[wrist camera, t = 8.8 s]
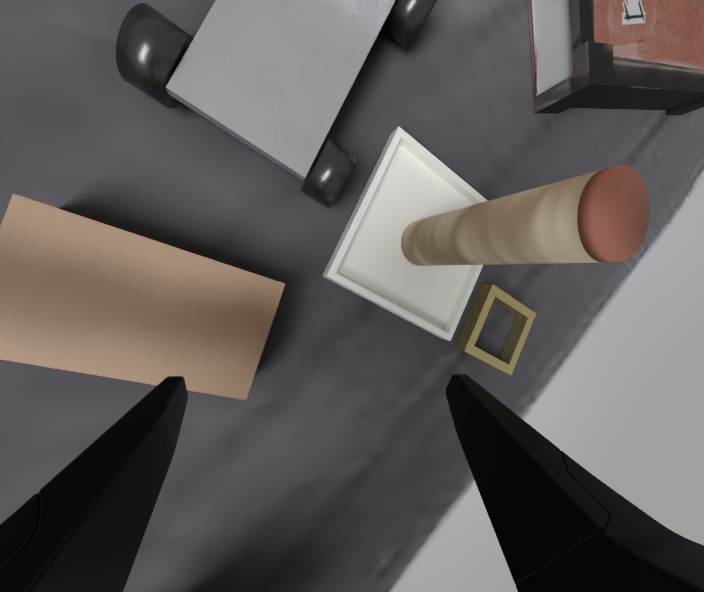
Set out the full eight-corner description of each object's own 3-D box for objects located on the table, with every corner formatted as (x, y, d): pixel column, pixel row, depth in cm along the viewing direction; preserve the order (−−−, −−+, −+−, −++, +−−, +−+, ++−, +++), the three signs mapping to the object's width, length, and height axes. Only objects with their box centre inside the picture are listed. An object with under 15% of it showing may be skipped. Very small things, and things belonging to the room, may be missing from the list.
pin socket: (500, 371, 28) (511, 375, 27) (454, 347, 26) (464, 351, 24) (524, 311, 28) (536, 313, 27) (482, 283, 26) (492, 283, 25)
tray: (441, 338, 25) (450, 341, 24) (321, 275, 21) (326, 276, 19) (493, 217, 26) (504, 215, 25) (390, 133, 22) (398, 126, 20)
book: (675, -42, 34) (745, -92, 29) (674, 117, 36) (738, 94, 32) (515, -102, 25) (579, -188, 20) (529, 115, 27) (589, 84, 23)
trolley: (321, 212, 20) (366, 180, 13) (133, 96, 16) (48, -45, 9) (416, 20, 22) (502, -101, 15) (269, -134, 17) (289, -413, 10)
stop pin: (435, 268, 24) (640, 268, 12) (398, 262, 22) (585, 254, 10) (441, 224, 23) (655, 178, 11) (404, 216, 22) (601, 152, 10)
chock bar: (244, 378, 20) (246, 400, 16) (13, 334, 15) (-48, 351, 12) (278, 281, 20) (285, 283, 17) (60, 210, 15) (13, 193, 12)
